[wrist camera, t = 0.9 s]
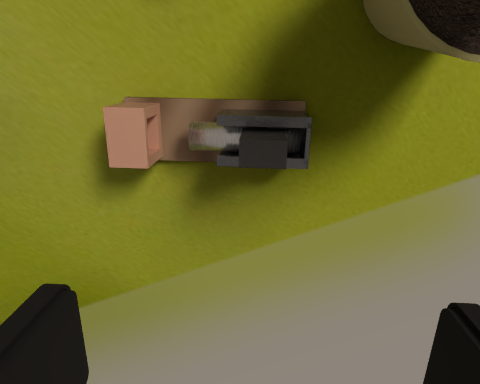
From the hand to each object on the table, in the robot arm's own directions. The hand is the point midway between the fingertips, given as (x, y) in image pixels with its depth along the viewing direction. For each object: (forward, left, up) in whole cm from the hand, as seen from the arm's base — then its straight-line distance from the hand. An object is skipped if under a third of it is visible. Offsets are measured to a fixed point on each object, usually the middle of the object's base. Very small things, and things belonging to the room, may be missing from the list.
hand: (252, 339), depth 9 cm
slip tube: (+1, +1, -30) cm, 30 cm away
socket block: (+10, +8, -33) cm, 35 cm away
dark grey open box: (0, 0, -33) cm, 33 cm away
